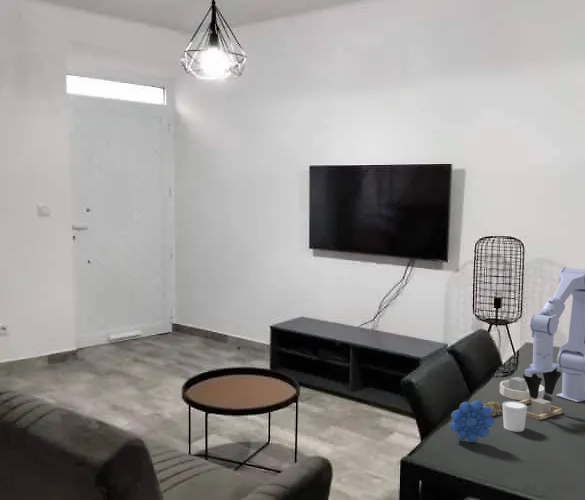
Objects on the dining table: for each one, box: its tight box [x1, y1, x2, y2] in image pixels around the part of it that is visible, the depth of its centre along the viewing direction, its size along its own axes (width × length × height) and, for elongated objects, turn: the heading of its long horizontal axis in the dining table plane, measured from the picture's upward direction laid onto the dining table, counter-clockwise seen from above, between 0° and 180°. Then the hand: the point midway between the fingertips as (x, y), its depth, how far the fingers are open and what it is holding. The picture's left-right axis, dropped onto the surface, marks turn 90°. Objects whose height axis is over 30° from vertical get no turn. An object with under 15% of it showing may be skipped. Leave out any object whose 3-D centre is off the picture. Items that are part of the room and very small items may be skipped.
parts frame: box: [517, 399, 563, 421], centre depth 187 cm, size 12×12×1 cm
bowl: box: [499, 379, 545, 401], centre depth 203 cm, size 14×14×3 cm
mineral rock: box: [482, 400, 503, 418], centre depth 186 cm, size 11×4×8 cm
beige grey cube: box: [530, 398, 552, 415], centre depth 185 cm, size 4×4×4 cm
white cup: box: [501, 400, 528, 433], centre depth 173 cm, size 7×7×7 cm
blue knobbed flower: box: [449, 399, 495, 444], centre depth 163 cm, size 12×7×12 cm, turn 70°
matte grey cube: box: [509, 376, 527, 391], centre depth 206 cm, size 4×4×4 cm
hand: (541, 395), depth 185 cm, fingers open, 7 cm apart
